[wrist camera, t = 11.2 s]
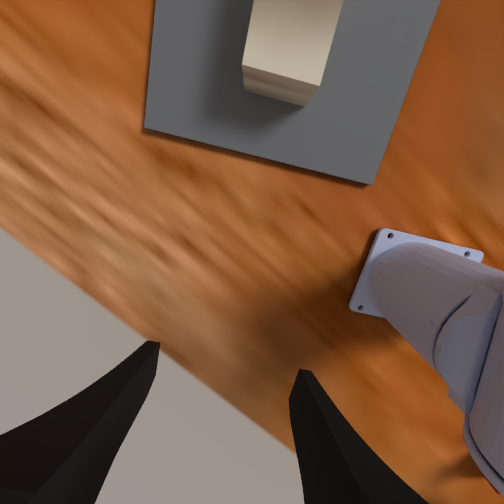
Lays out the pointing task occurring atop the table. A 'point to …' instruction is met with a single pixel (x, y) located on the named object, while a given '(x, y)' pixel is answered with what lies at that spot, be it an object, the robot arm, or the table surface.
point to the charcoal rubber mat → (277, 111)
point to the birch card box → (288, 47)
